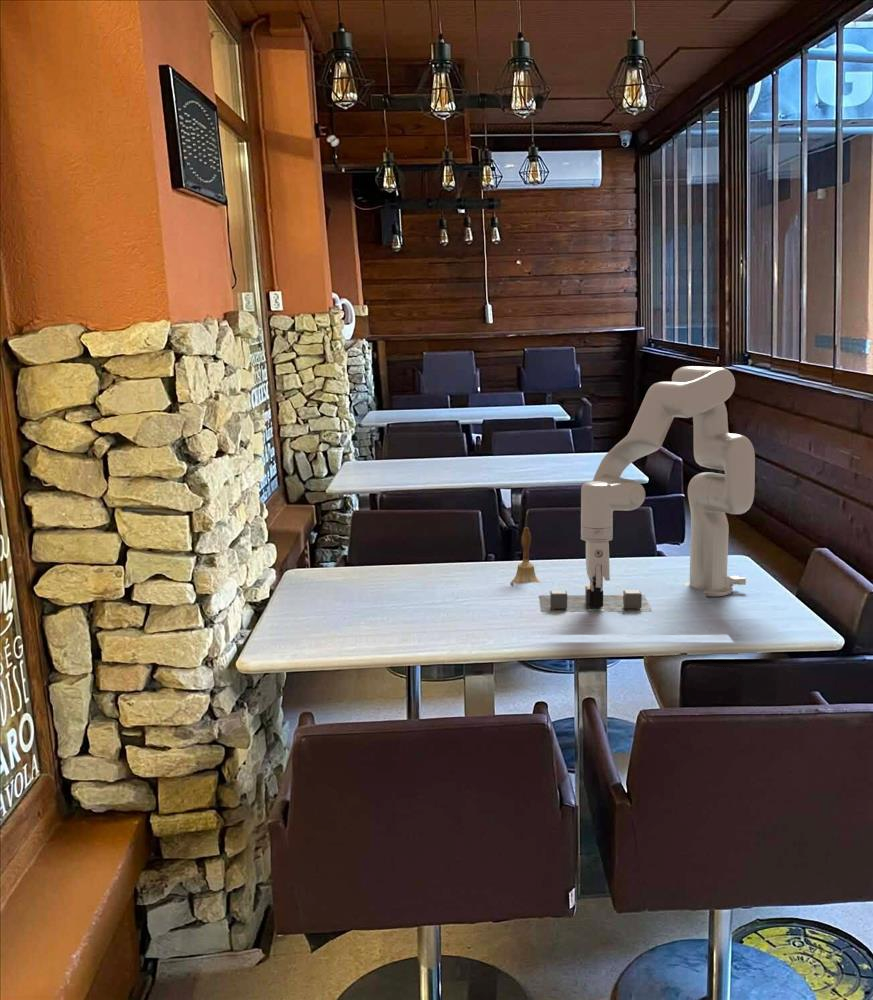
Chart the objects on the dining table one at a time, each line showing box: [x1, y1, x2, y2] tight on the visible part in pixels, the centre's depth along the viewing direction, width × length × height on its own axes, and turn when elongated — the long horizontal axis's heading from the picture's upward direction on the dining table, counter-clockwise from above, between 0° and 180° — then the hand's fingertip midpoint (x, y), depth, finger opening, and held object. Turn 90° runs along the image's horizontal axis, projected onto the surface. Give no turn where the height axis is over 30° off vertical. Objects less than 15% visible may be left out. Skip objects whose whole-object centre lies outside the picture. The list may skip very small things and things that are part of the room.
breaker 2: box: [622, 589, 643, 608], centre depth 231 cm, size 4×3×4 cm
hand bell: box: [510, 526, 541, 586], centre depth 260 cm, size 8×8×16 cm
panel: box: [538, 594, 653, 613], centre depth 237 cm, size 27×14×2 cm, turn 86°
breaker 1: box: [549, 590, 568, 608], centre depth 233 cm, size 4×3×4 cm
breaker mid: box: [584, 585, 590, 603], centre depth 236 cm, size 4×3×4 cm
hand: (596, 605), depth 230 cm, fingers closed
